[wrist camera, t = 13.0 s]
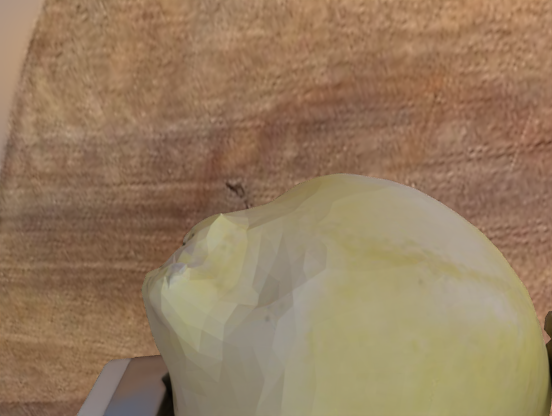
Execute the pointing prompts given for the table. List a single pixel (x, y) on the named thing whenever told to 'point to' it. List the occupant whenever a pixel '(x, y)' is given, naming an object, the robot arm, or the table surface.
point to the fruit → (346, 311)
